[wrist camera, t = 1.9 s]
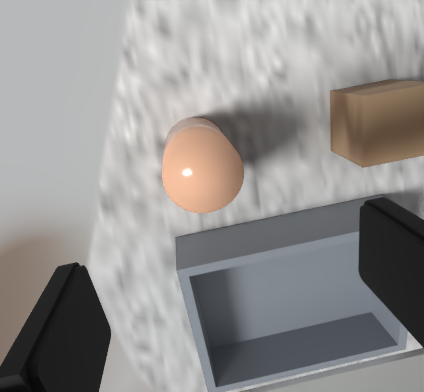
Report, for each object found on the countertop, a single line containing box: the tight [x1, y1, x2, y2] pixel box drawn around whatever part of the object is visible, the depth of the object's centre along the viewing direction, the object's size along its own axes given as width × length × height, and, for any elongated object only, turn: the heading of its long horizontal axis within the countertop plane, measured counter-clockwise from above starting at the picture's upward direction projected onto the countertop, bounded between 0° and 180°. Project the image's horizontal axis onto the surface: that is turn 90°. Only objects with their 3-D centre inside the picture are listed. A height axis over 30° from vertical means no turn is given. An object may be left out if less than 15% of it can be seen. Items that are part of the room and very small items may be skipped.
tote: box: [176, 195, 420, 392], centre depth 29 cm, size 20×15×5 cm
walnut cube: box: [330, 80, 424, 168], centre depth 24 cm, size 5×5×5 cm
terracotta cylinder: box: [162, 117, 244, 213], centre depth 22 cm, size 5×5×7 cm
